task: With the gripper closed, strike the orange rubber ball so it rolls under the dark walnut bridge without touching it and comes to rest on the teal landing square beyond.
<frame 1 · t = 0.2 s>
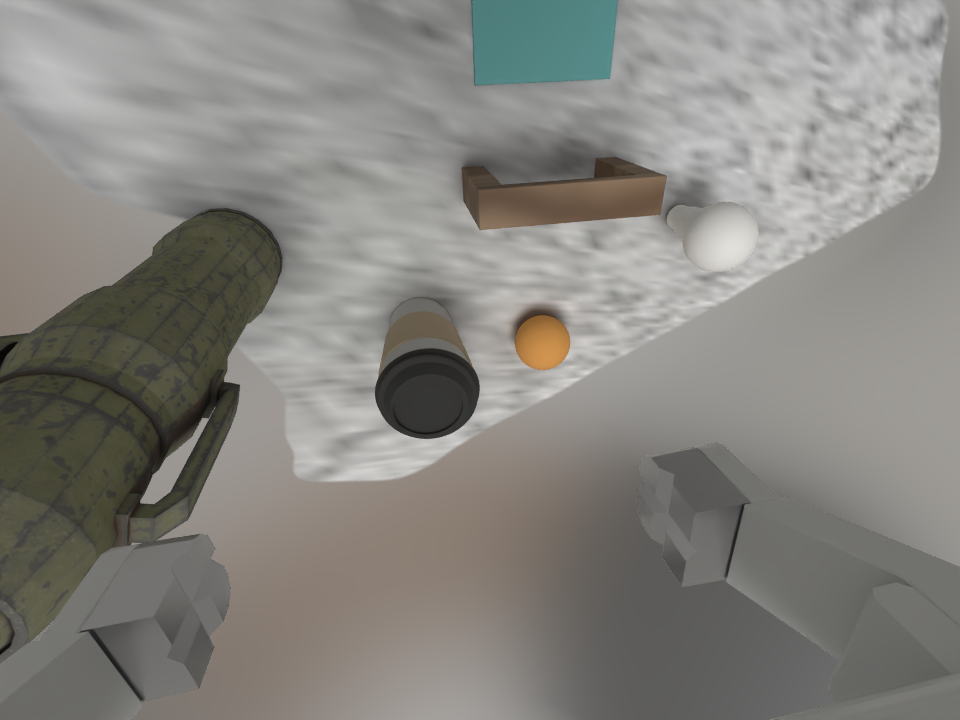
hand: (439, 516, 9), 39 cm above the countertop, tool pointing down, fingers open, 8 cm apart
coffee cup: (420, 325, 50), on the countertop
bridge: (540, 179, 44), on the countertop
ball: (542, 342, 50), on the countertop
thermos: (233, 254, 43), on the countertop
lightbulb: (673, 214, 48), on the countertop
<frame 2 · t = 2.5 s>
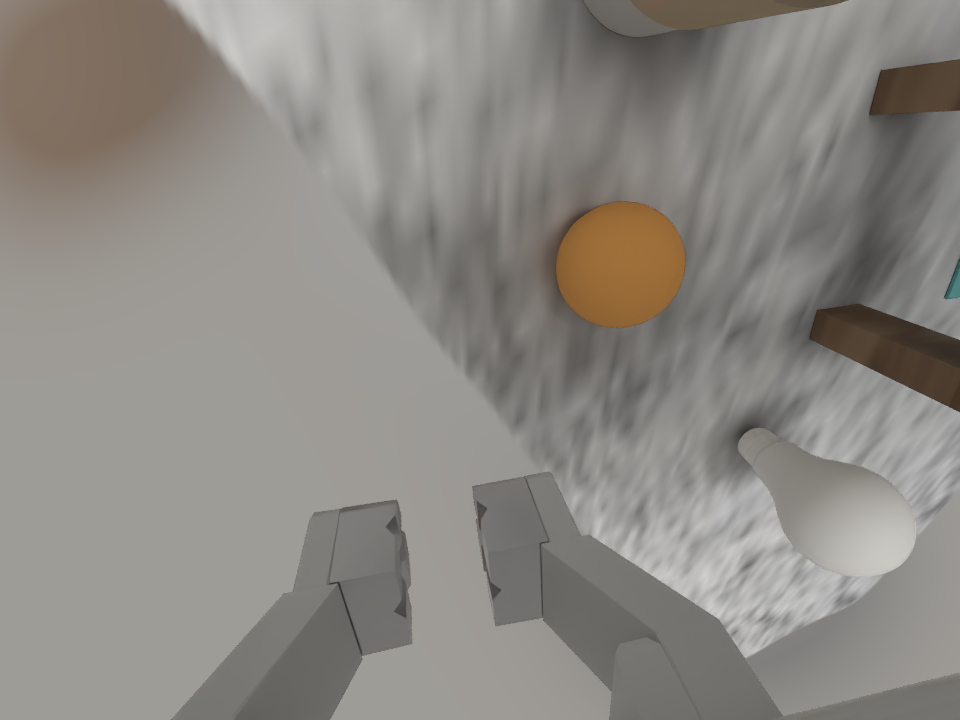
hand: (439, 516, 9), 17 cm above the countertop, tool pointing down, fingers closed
bridge: (863, 218, 27), on the countertop
ball: (618, 266, 22), on the countertop
lightbulb: (744, 434, 33), on the countertop
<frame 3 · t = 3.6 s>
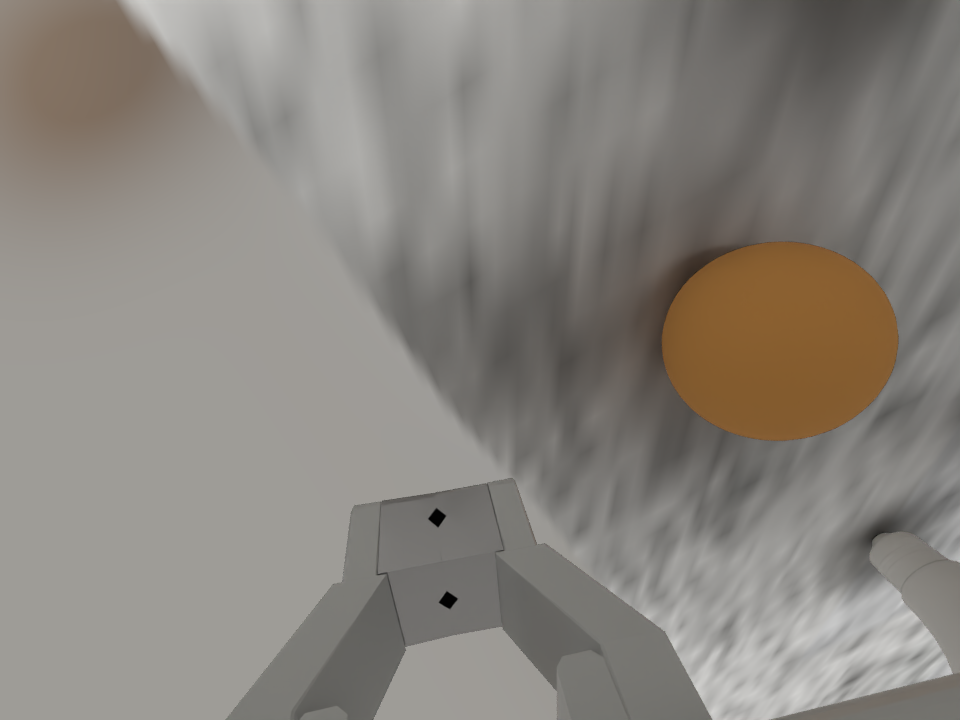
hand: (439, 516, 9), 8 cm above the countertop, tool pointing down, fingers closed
ball: (766, 342, 14), on the countertop
lightbulb: (875, 534, 25), on the countertop
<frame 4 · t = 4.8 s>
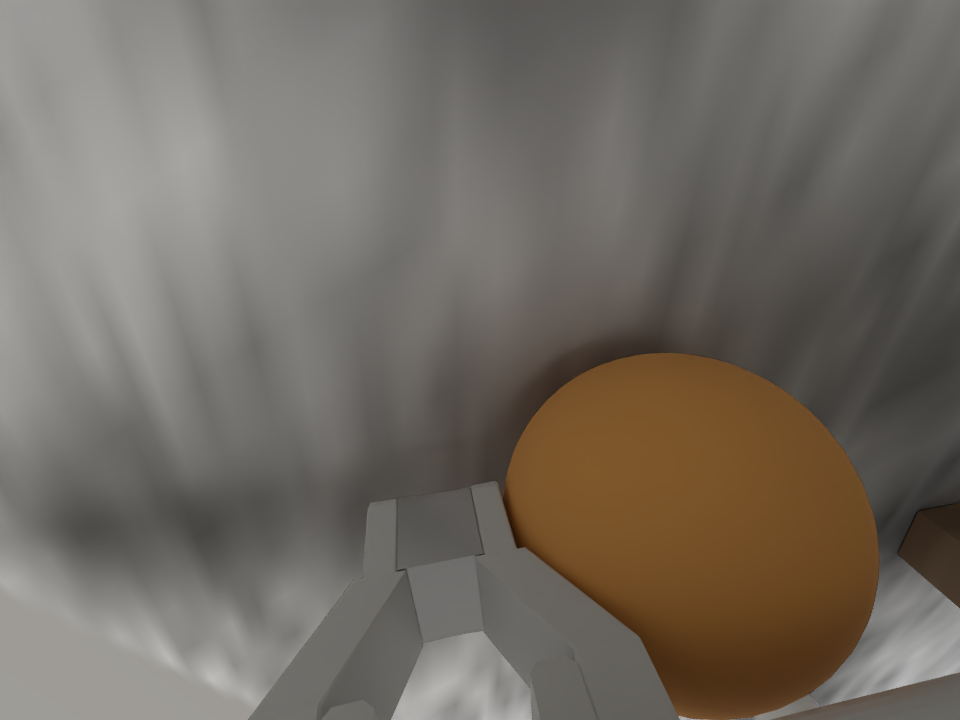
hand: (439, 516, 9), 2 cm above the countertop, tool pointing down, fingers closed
ball: (664, 514, 8), on the countertop, touching gripper
lightbulb: (766, 685, 19), on the countertop
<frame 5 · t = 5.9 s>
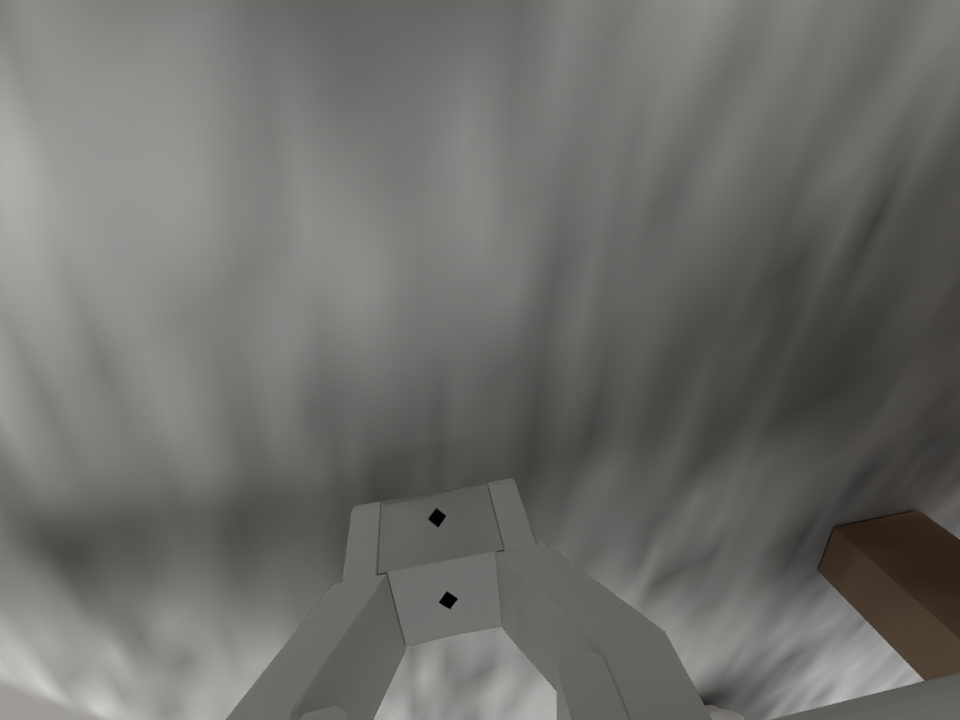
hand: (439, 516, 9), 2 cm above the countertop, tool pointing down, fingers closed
bridge: (941, 365, 12), on the countertop
lightbulb: (699, 703, 18), on the countertop
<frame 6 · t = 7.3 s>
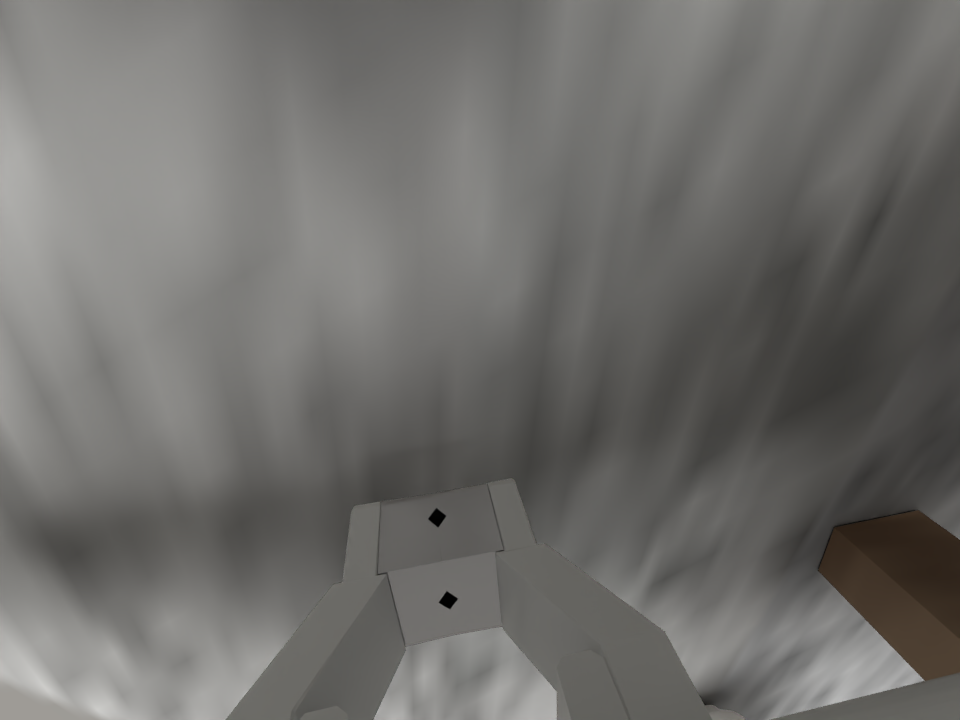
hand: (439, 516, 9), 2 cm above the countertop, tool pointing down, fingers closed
bridge: (941, 365, 12), on the countertop
lightbulb: (699, 703, 18), on the countertop
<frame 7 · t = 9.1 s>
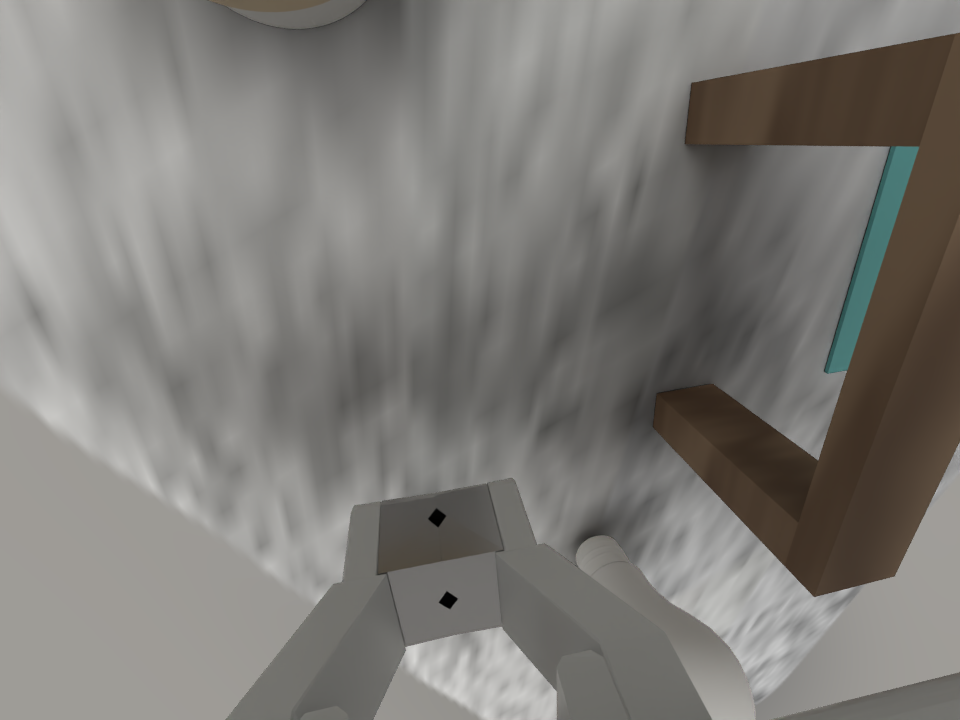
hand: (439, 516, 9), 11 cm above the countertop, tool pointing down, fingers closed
bridge: (700, 279, 20), on the countertop
lightbulb: (589, 538, 26), on the countertop
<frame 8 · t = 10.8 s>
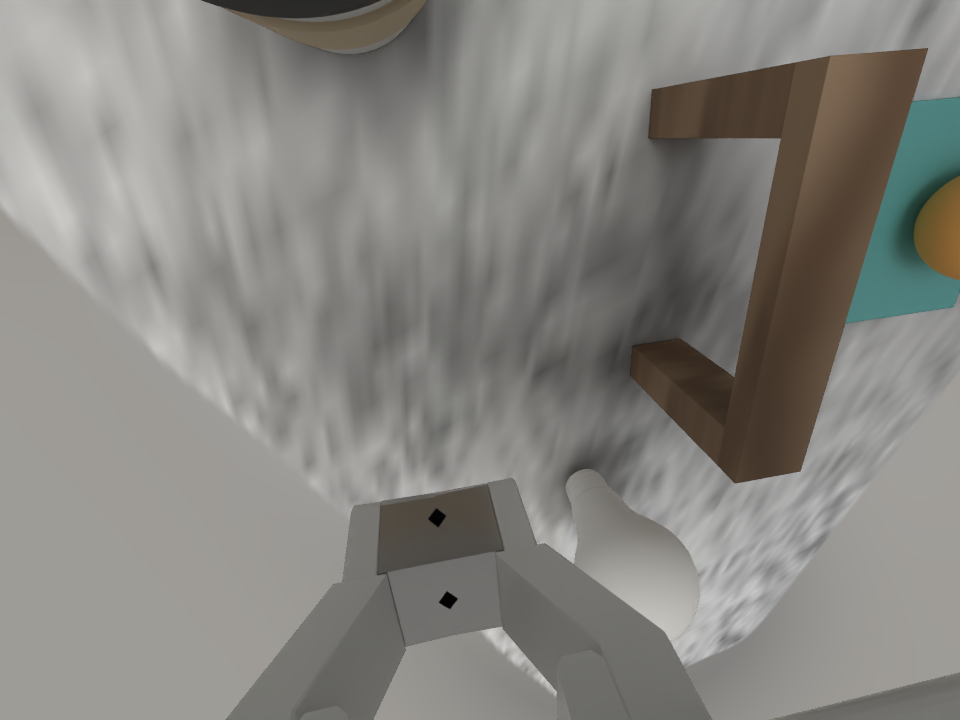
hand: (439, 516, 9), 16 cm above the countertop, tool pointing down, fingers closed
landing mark: (897, 220, 26), on the countertop
bridge: (666, 249, 24), on the countertop
lightbulb: (578, 474, 31), on the countertop
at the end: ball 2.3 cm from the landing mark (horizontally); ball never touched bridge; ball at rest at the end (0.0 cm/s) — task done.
